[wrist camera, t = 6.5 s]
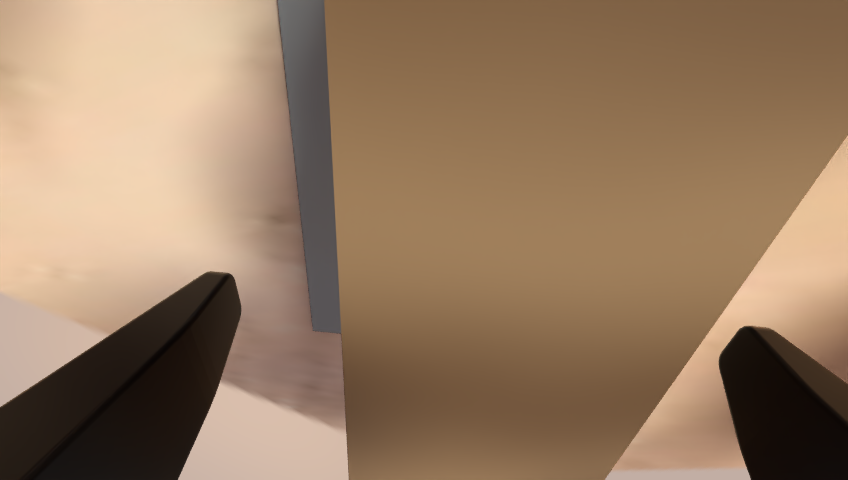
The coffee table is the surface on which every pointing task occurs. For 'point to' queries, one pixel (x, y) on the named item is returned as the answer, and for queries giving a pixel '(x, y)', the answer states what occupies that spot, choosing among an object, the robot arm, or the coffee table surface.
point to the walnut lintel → (556, 211)
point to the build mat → (312, 152)
